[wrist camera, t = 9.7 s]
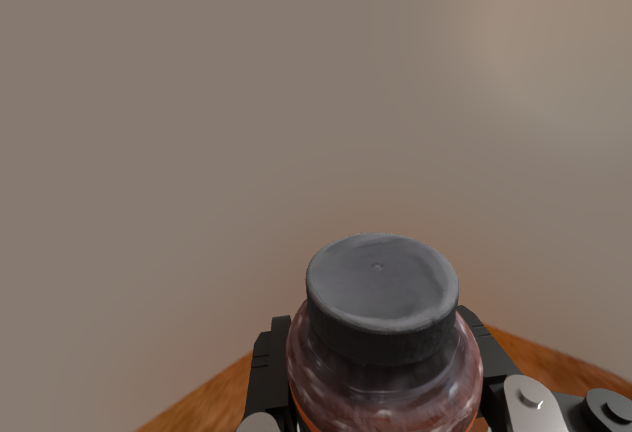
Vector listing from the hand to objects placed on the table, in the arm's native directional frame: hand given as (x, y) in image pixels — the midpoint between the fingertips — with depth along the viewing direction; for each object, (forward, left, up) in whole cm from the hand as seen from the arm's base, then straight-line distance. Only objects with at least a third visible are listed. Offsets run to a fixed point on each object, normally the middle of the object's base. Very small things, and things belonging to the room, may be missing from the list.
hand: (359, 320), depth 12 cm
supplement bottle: (0, -3, -7) cm, 7 cm away
